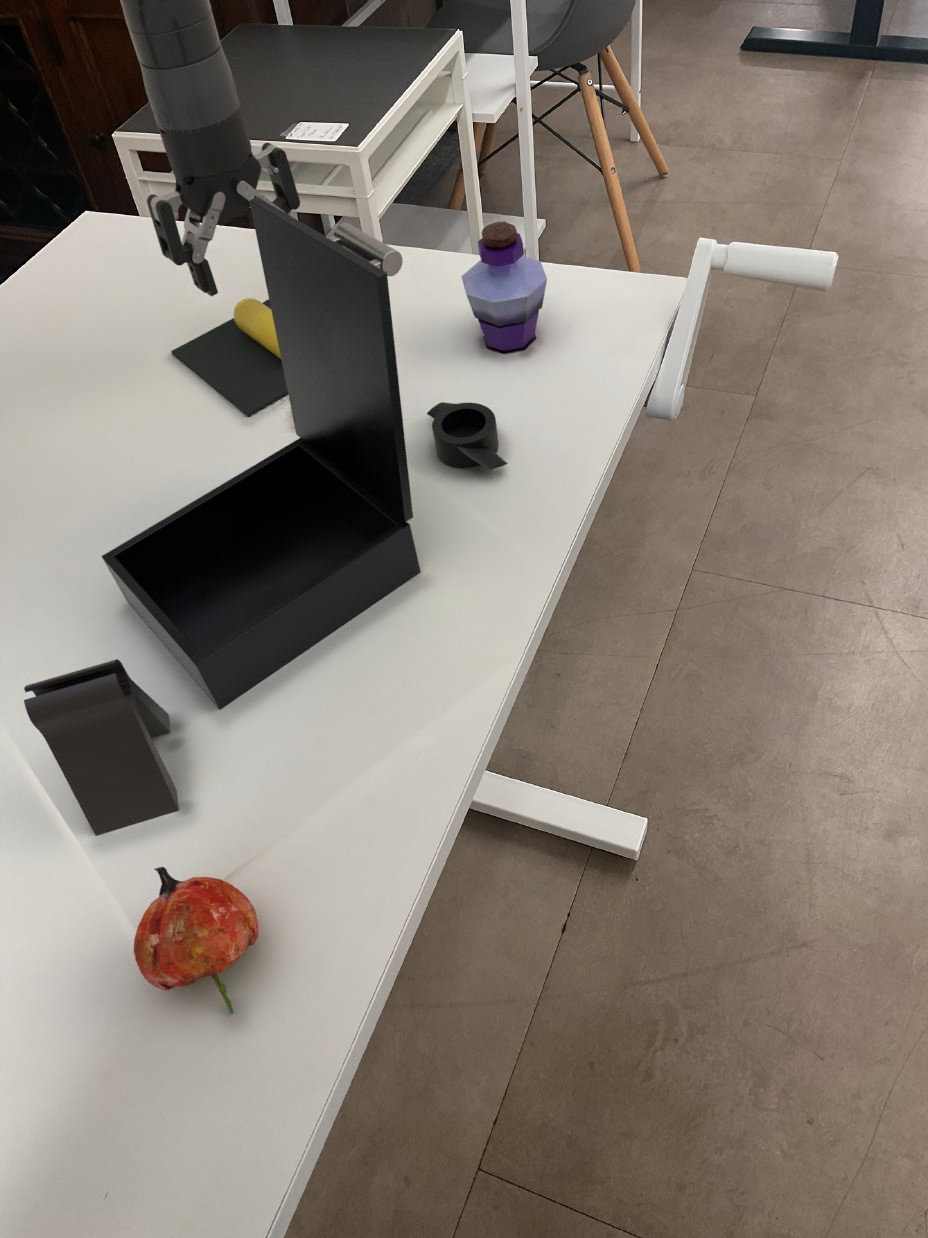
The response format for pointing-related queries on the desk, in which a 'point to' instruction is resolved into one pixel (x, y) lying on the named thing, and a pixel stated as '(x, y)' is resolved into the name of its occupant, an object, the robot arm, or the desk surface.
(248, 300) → the yellow capsule
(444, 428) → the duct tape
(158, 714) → the phone stand
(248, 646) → the black open box
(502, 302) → the potion bottle
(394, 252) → the lid
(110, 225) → the desk surface
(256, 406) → the mat
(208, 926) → the painted toy pumpkin
